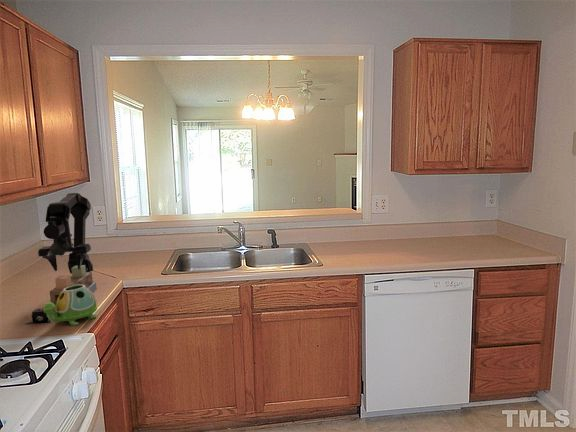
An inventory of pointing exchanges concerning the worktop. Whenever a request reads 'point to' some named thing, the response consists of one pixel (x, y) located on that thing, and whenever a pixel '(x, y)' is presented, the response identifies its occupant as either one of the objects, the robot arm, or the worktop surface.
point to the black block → (36, 319)
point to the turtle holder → (72, 305)
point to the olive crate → (78, 271)
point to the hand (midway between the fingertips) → (67, 270)
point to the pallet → (83, 280)
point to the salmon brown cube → (63, 282)
